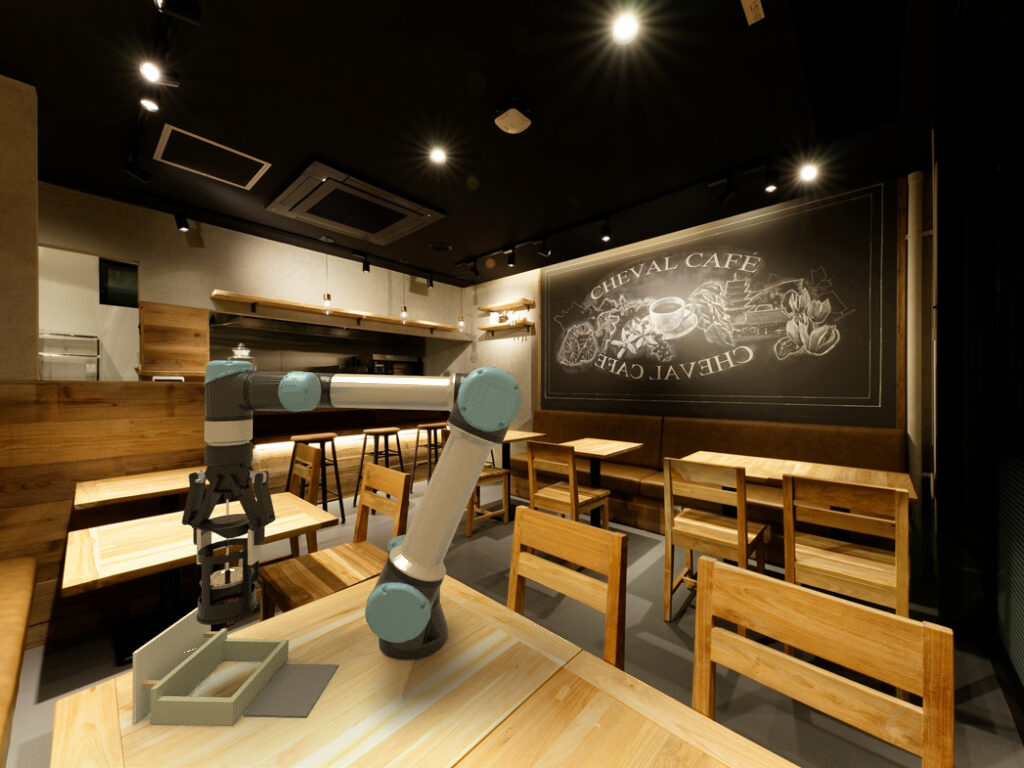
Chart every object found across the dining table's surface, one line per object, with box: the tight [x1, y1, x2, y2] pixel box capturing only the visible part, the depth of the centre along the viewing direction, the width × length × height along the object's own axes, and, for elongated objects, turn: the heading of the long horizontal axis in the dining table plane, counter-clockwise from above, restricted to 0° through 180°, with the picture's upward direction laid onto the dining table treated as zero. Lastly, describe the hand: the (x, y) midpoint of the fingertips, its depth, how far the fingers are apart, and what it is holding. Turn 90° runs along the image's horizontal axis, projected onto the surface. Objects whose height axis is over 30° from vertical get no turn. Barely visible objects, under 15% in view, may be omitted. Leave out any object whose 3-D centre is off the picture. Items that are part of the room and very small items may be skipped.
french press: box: [196, 489, 260, 626], centre depth 78 cm, size 12×9×23 cm
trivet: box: [242, 662, 340, 719], centre depth 78 cm, size 11×13×1 cm
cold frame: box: [131, 606, 290, 727], centre depth 78 cm, size 17×17×12 cm
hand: (229, 561), depth 78 cm, fingers closed on french press, 9 cm apart
